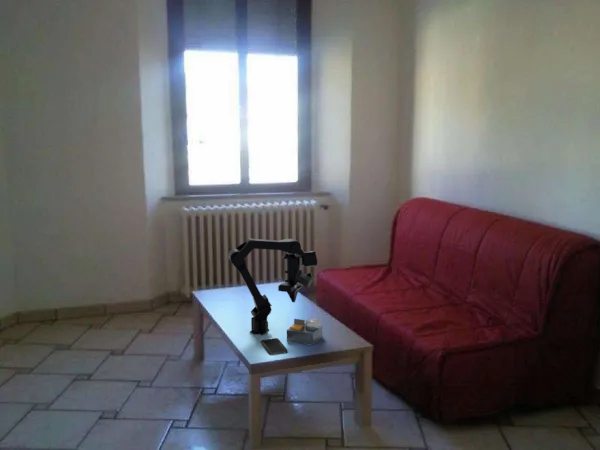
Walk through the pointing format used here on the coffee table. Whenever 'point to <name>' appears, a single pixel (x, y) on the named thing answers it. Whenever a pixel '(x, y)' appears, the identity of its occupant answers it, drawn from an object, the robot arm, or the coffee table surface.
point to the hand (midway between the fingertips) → (293, 302)
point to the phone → (273, 346)
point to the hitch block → (304, 335)
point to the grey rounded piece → (312, 324)
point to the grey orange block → (298, 324)
